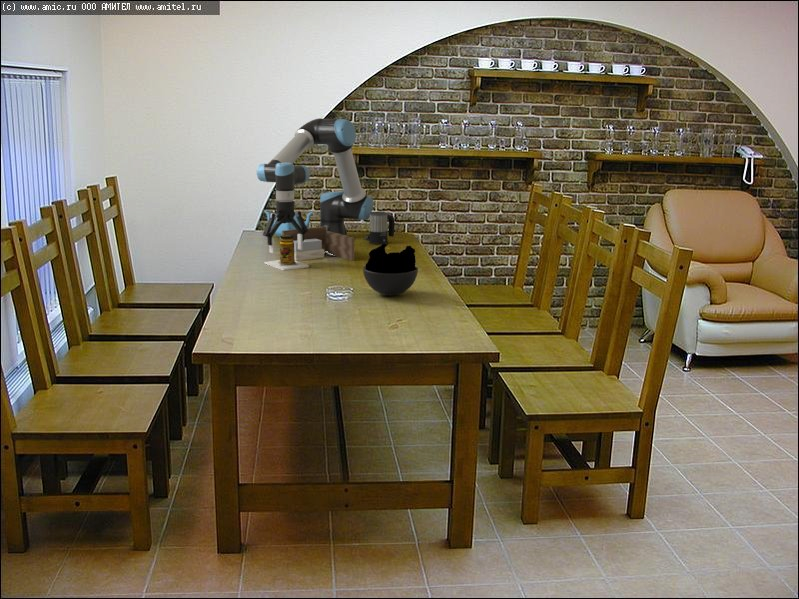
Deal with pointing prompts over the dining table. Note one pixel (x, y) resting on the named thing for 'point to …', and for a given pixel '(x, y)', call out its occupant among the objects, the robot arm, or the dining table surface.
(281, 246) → the condiment
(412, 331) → the dining table surface
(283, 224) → the teapot
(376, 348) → the dining table surface
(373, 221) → the milk frother
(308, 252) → the block
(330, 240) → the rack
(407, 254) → the bowl of black rocks
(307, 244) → the offcut top
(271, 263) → the pad
